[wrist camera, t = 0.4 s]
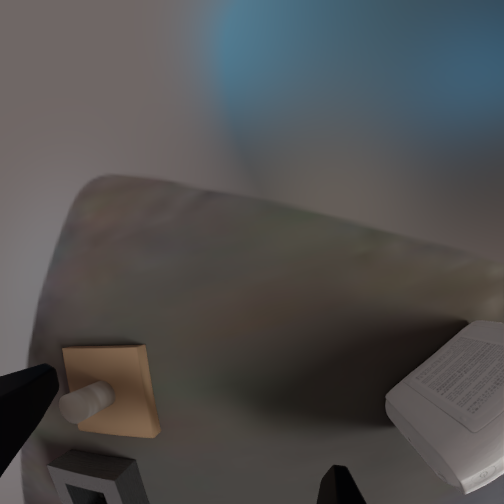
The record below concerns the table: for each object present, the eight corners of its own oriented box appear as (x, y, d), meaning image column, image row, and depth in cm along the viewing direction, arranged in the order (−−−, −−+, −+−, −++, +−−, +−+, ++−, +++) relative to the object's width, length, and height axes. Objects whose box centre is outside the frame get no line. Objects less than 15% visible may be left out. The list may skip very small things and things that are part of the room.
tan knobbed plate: (161, 430, 21) (128, 464, 15) (88, 424, 21) (47, 448, 16) (145, 344, 22) (104, 357, 16) (72, 346, 23) (25, 354, 17)
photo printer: (397, 435, 19) (472, 523, 7) (373, 396, 20) (450, 479, 8) (493, 352, 19) (601, 374, 7) (474, 311, 20) (591, 313, 8)
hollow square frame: (155, 519, 20) (139, 543, 16) (92, 506, 20) (72, 525, 16) (135, 459, 21) (114, 481, 17) (71, 449, 21) (46, 464, 17)
